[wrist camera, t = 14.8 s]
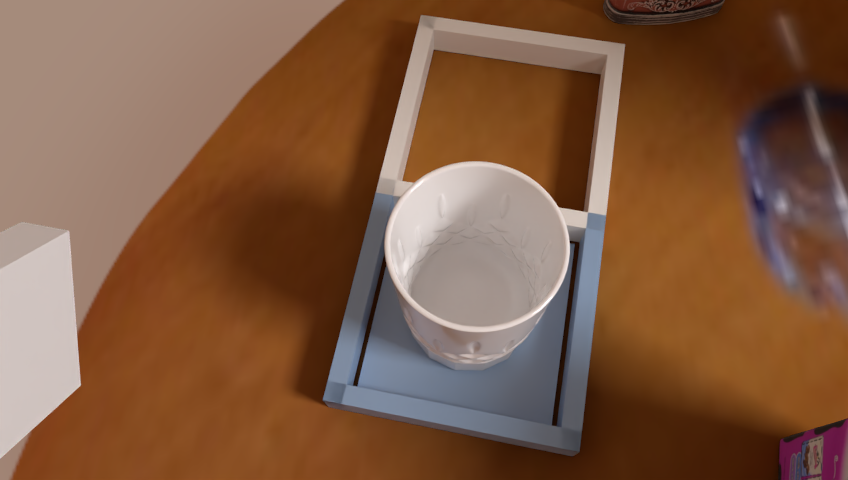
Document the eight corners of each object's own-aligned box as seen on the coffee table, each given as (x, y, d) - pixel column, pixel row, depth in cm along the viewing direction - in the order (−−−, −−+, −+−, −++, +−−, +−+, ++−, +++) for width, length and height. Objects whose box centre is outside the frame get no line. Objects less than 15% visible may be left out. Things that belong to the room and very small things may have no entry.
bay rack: (617, 64, 46) (625, 44, 44) (572, 456, 36) (579, 452, 34) (421, 35, 47) (421, 14, 45) (328, 407, 38) (322, 400, 36)
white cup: (556, 366, 38) (594, 309, 29) (412, 397, 37) (403, 349, 28) (518, 234, 41) (541, 145, 32) (385, 261, 40) (369, 179, 31)
